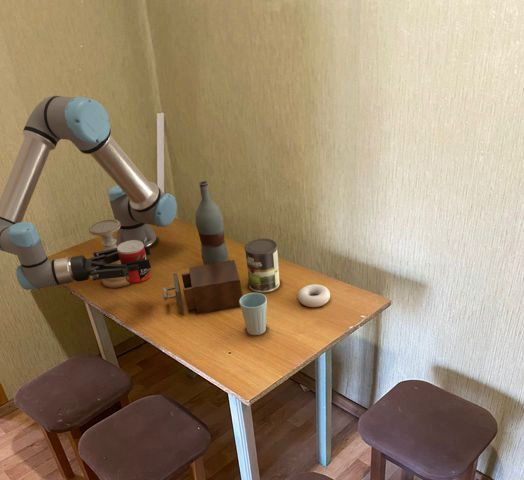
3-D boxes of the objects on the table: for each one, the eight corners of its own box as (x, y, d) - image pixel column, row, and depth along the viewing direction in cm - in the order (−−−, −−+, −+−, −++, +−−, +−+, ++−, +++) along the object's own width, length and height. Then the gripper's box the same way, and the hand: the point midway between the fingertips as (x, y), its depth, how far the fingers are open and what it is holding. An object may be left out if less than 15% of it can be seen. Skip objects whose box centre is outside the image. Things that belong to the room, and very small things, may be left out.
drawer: (166, 315, 162) (161, 294, 157) (165, 296, 171) (160, 275, 166) (223, 305, 164) (219, 284, 159) (218, 287, 173) (215, 266, 168)
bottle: (213, 275, 181) (199, 190, 162) (198, 266, 187) (183, 183, 168) (234, 264, 185) (223, 181, 167) (219, 256, 191) (207, 174, 173)
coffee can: (265, 296, 168) (261, 256, 159) (242, 286, 173) (237, 248, 165) (286, 282, 173) (284, 243, 164) (263, 273, 179) (259, 235, 170)
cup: (261, 340, 150) (257, 310, 143) (238, 333, 153) (234, 303, 147) (274, 326, 155) (271, 295, 148) (251, 320, 158) (248, 290, 152)
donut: (336, 298, 163) (312, 287, 169) (337, 289, 161) (312, 278, 167) (315, 313, 158) (291, 301, 164) (315, 303, 156) (290, 292, 162)
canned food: (146, 285, 159) (137, 252, 152) (121, 284, 160) (112, 252, 154) (155, 271, 165) (147, 240, 158) (131, 271, 166) (122, 239, 159)
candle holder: (106, 292, 178) (88, 237, 166) (99, 276, 187) (82, 223, 175) (141, 281, 182) (127, 227, 169) (132, 266, 191) (118, 214, 178)
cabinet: (197, 313, 163) (191, 287, 157) (193, 293, 173) (188, 267, 167) (243, 305, 164) (240, 279, 159) (237, 285, 174) (234, 259, 168)
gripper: (80, 264, 167) (151, 252, 169) (73, 298, 151) (153, 284, 153) (72, 242, 163) (146, 230, 165) (65, 275, 147) (147, 261, 149)
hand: (149, 256), depth 159 cm, fingers closed on canned food, 8 cm apart
